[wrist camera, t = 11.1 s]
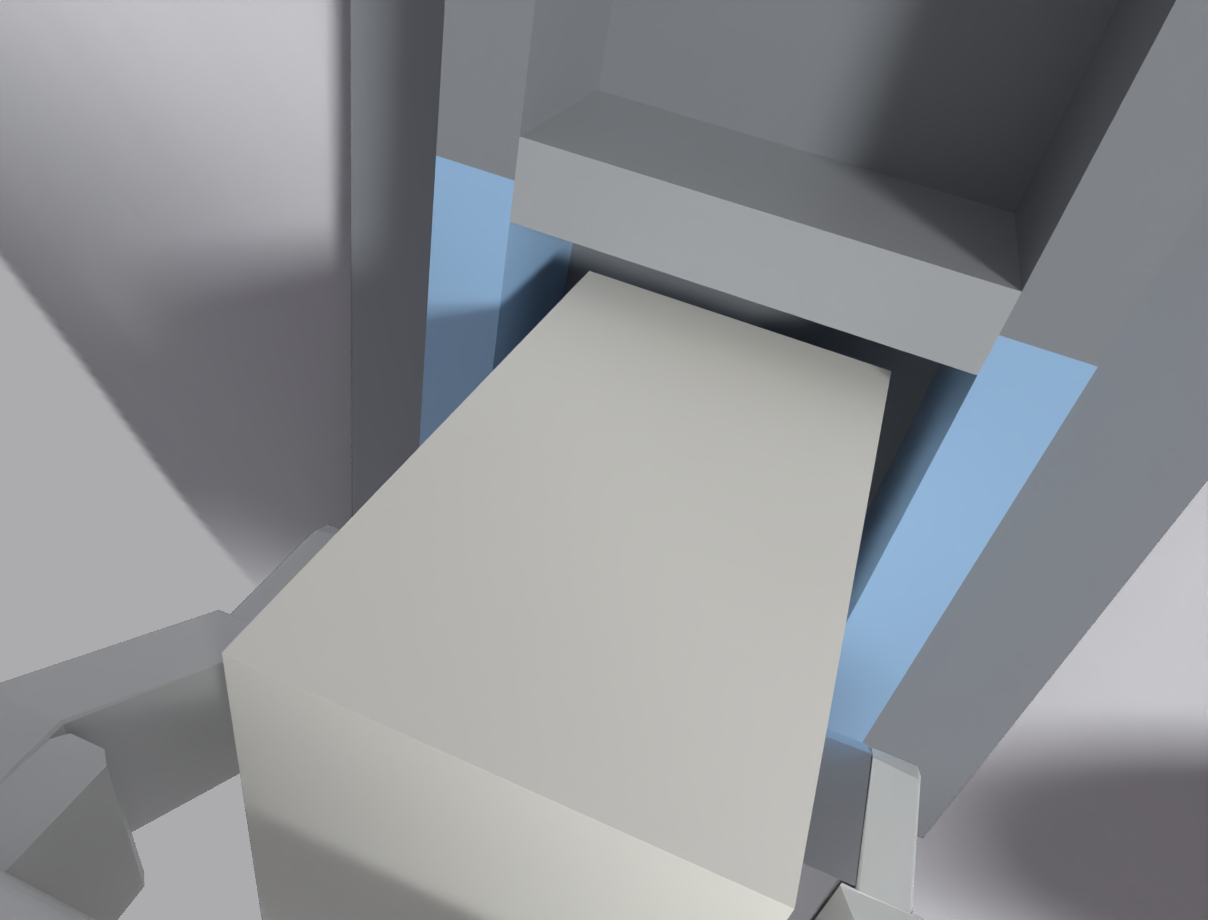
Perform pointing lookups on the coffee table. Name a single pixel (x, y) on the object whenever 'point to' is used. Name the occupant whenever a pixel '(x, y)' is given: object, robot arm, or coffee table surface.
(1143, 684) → the coffee table surface
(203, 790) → the robot arm
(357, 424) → the divided sorting tray
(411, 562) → the plug
